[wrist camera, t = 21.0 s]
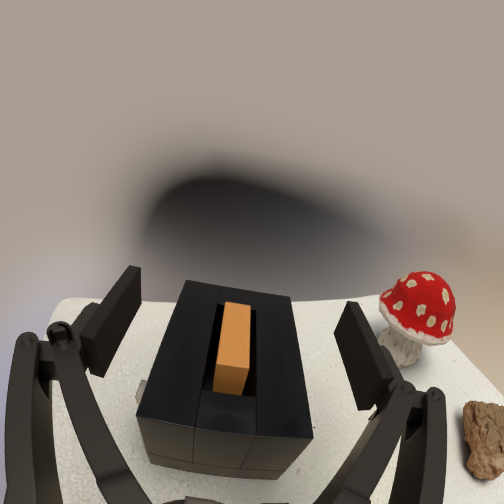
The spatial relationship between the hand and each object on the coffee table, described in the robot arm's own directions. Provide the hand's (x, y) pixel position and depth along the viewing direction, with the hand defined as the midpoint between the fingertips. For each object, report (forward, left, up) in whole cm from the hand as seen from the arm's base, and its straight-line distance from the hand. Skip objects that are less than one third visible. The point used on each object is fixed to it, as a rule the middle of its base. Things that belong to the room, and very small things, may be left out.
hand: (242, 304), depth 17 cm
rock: (+36, -7, -17) cm, 41 cm away
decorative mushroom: (+27, +15, -17) cm, 35 cm away
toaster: (0, +4, -17) cm, 17 cm away
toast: (0, +4, -14) cm, 15 cm away
